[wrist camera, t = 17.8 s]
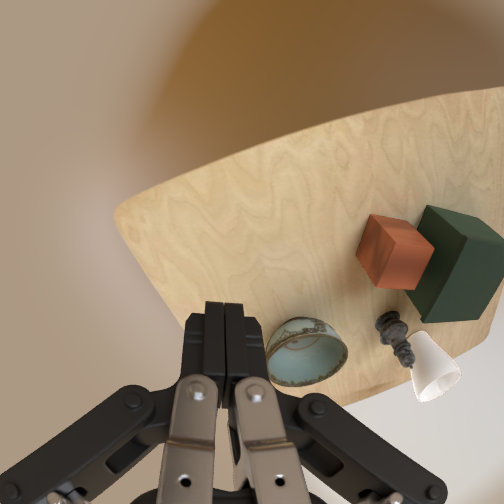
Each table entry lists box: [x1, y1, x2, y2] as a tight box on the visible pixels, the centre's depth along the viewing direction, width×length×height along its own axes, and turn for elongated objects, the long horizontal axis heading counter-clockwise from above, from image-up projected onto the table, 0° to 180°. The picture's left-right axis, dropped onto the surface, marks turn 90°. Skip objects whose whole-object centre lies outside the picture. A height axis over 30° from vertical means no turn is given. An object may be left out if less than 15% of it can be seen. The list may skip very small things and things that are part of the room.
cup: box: [407, 331, 462, 402], centre depth 53 cm, size 10×10×14 cm
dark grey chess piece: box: [375, 311, 416, 369], centre depth 49 cm, size 6×6×12 cm
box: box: [404, 205, 504, 323], centre depth 41 cm, size 15×15×11 cm
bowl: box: [265, 317, 348, 387], centre depth 49 cm, size 14×13×8 cm
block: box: [356, 214, 435, 290], centre depth 40 cm, size 7×7×8 cm
